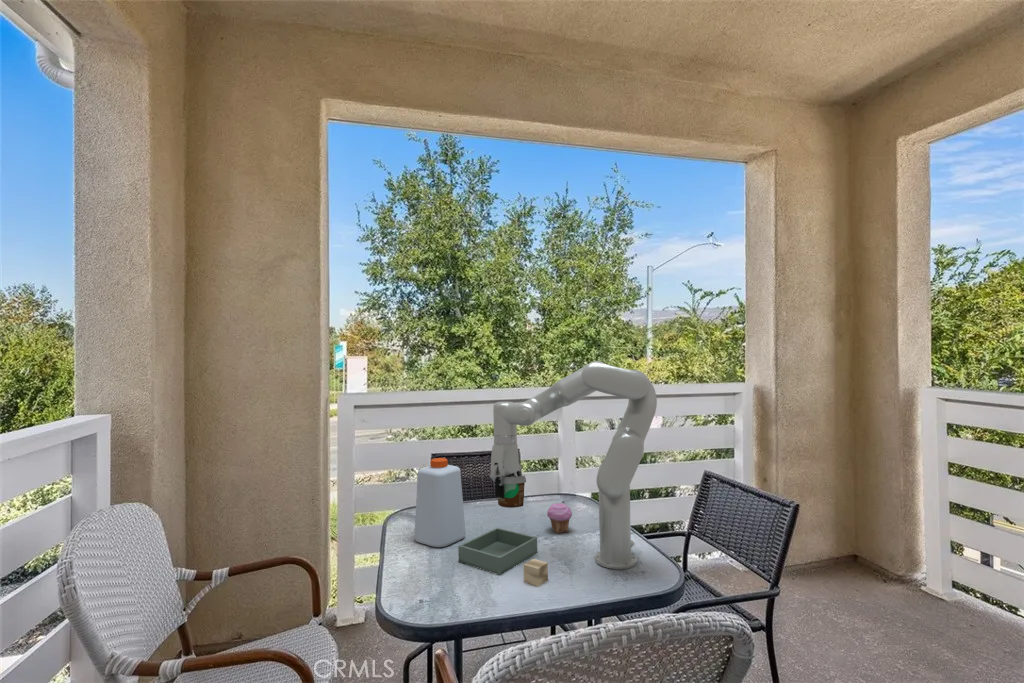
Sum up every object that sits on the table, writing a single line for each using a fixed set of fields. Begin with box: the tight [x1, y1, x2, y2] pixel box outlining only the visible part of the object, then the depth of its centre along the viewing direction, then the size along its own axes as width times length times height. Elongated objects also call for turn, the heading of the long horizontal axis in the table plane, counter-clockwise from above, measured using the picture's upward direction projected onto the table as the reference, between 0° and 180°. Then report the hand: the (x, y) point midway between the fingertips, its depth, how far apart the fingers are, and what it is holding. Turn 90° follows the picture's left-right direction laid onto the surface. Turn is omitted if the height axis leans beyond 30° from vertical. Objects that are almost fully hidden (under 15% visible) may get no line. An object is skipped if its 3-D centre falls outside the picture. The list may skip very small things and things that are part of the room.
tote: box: [458, 527, 538, 576], centre depth 162 cm, size 20×17×5 cm
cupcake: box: [546, 503, 573, 534], centre depth 184 cm, size 9×9×10 cm
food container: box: [497, 474, 527, 509], centre depth 166 cm, size 12×6×10 cm, turn 47°
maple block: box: [523, 558, 549, 587], centre depth 145 cm, size 5×5×5 cm
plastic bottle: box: [413, 457, 466, 548], centre depth 179 cm, size 15×15×28 cm
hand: (506, 494), depth 166 cm, fingers closed on food container, 6 cm apart
